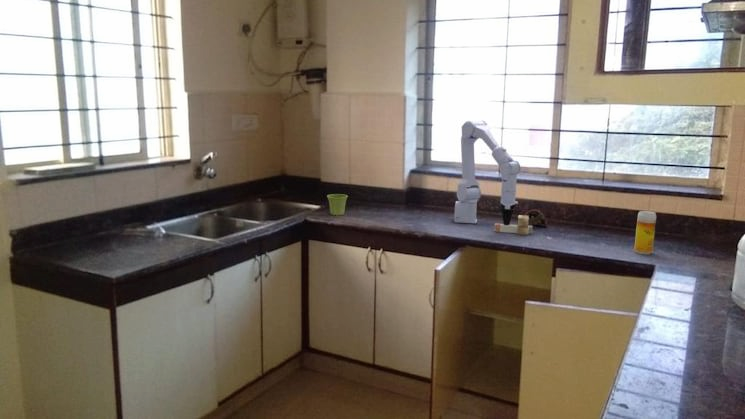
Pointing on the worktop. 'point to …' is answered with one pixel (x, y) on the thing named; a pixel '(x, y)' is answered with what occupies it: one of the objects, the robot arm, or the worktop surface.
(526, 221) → the tan wooden brick
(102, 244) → the worktop surface
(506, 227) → the white bar
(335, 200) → the plant pot
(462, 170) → the robot arm
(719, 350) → the worktop surface
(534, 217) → the pottery mug
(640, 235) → the pill bottle
